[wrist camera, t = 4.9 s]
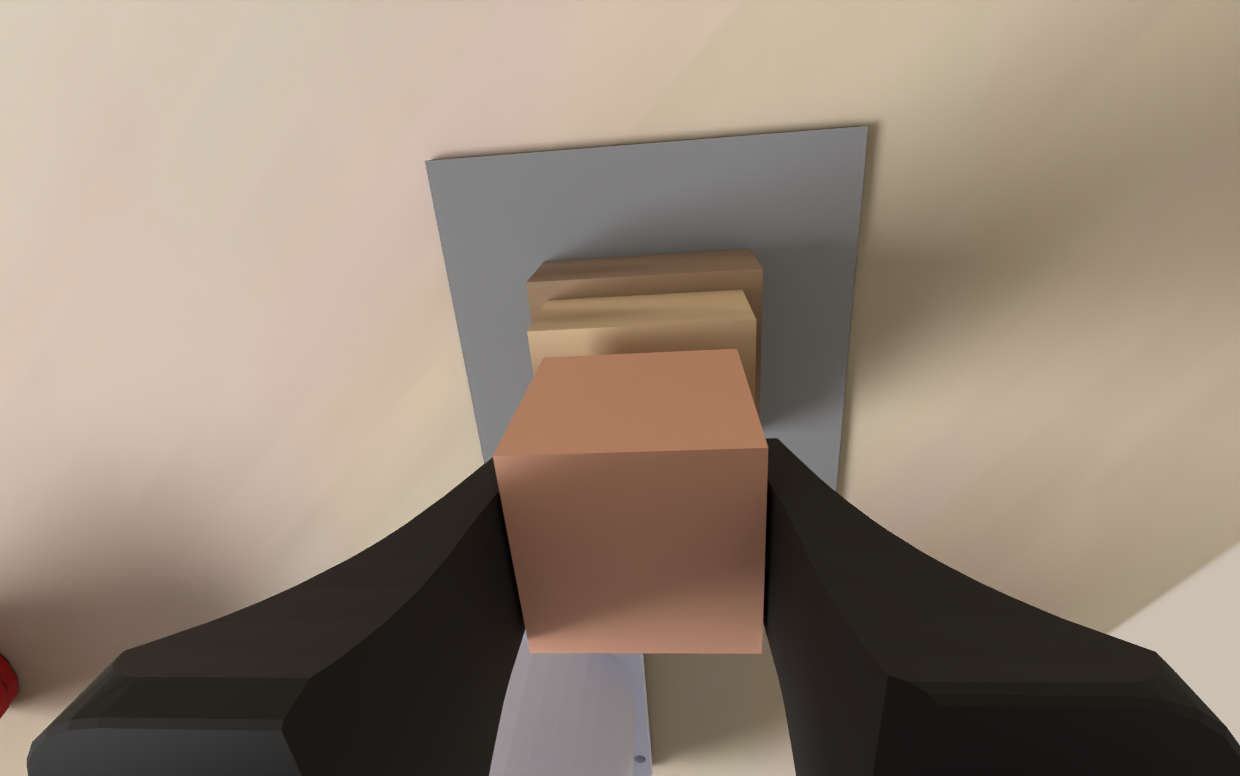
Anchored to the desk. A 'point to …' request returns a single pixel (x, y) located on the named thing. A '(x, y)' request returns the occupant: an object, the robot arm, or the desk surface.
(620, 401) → the cube
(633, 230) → the mat
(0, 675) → the plastic cup
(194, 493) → the desk surface
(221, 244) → the desk surface
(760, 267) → the tower base
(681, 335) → the tower middle
